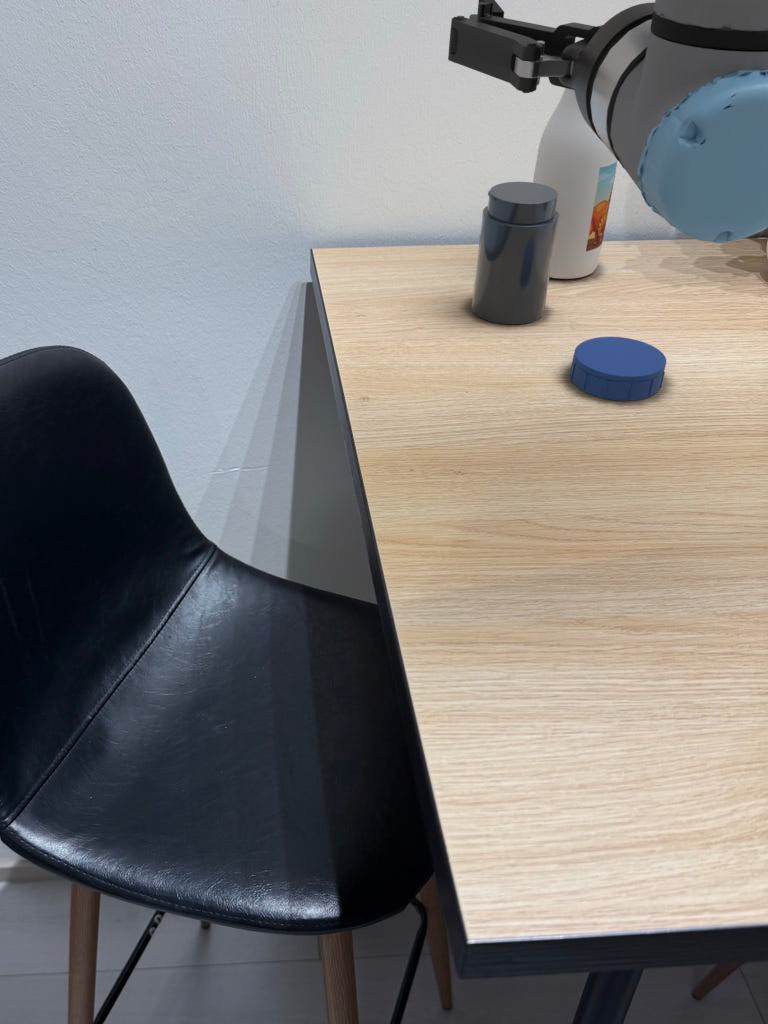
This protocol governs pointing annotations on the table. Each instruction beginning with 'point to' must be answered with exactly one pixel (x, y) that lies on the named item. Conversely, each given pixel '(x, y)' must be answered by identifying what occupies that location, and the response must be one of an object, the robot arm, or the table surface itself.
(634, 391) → the lid
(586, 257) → the milk bottle
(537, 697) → the table surface
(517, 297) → the jar
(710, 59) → the robot arm
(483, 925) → the table surface
